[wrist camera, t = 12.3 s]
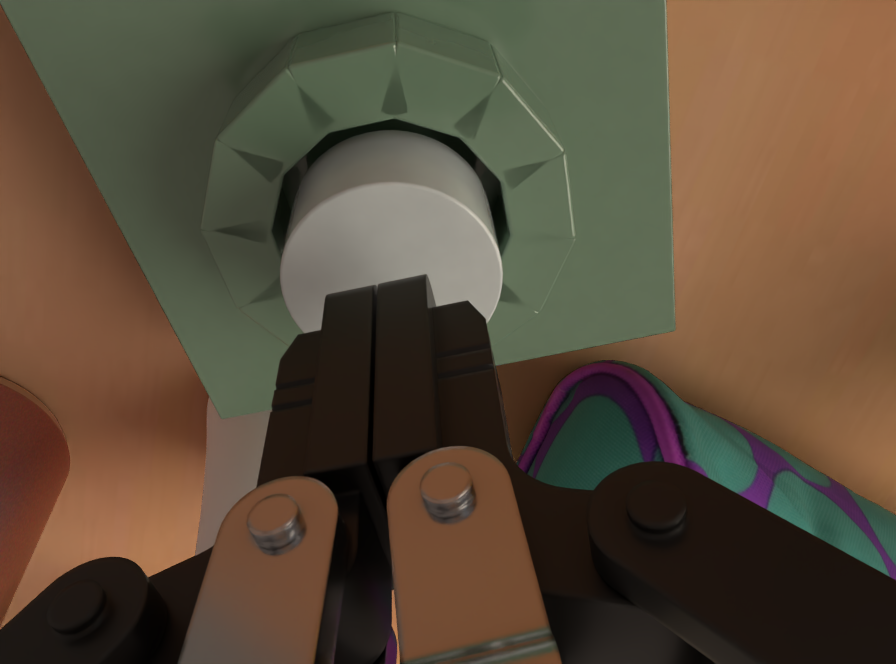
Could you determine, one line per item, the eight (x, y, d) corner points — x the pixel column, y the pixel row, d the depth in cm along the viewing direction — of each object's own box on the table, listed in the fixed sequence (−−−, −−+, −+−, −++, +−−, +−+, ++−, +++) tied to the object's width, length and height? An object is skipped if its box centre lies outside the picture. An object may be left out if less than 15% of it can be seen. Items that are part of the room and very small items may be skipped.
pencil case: (440, 471, 26) (460, 769, 18) (614, 288, 22) (734, 575, 14) (826, 638, 34) (952, 894, 26) (1007, 526, 30) (1219, 793, 22)
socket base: (247, 319, 22) (206, 476, 17) (74, -61, 16) (-62, 18, 11) (631, 239, 21) (701, 382, 16) (602, -192, 15) (699, -167, 10)
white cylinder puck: (326, 319, 15) (318, 387, 14) (263, 153, 13) (246, 210, 11) (504, 283, 15) (518, 348, 13) (470, 108, 13) (482, 159, 11)
